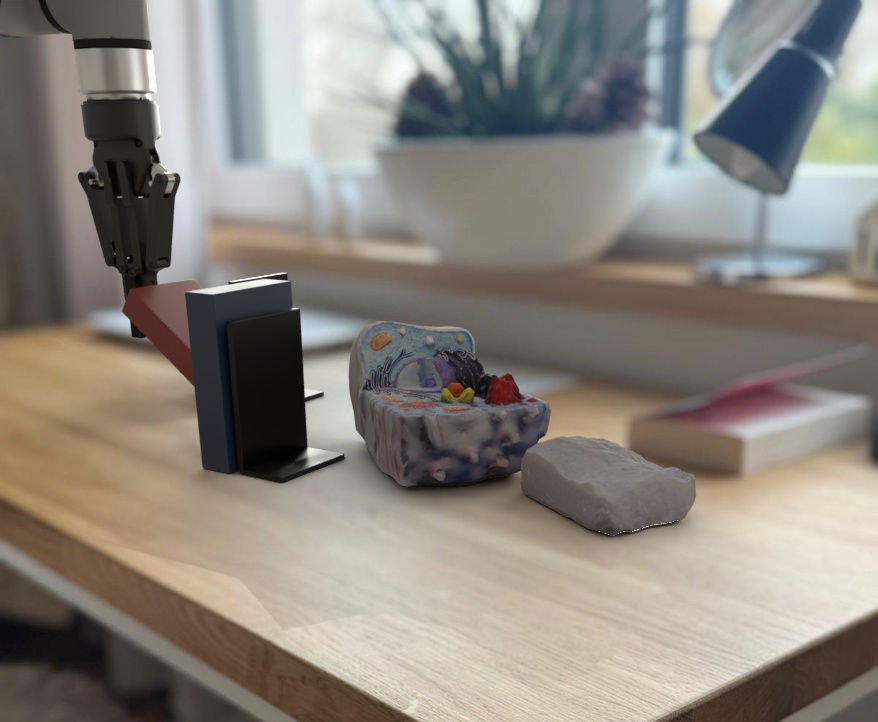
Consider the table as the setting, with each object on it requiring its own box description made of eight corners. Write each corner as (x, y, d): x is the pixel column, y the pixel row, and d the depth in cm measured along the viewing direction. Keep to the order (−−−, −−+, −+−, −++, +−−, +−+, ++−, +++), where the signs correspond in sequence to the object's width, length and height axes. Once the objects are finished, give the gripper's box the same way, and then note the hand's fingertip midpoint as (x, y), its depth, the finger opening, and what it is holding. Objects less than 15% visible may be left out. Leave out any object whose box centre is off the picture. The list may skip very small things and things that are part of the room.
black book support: (238, 473, 87) (225, 321, 82) (302, 450, 93) (294, 307, 88) (281, 483, 84) (271, 327, 79) (345, 458, 90) (339, 312, 86)
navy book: (184, 291, 82) (212, 294, 81) (263, 278, 89) (291, 280, 88) (202, 468, 88) (229, 473, 86) (275, 443, 95) (302, 447, 93)
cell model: (449, 305, 96) (572, 348, 79) (448, 423, 100) (564, 488, 84) (311, 315, 90) (412, 364, 74) (315, 440, 95) (412, 512, 78)
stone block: (610, 495, 86) (505, 489, 81) (625, 437, 85) (518, 427, 80) (707, 548, 77) (594, 544, 72) (725, 483, 75) (612, 475, 70)
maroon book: (121, 311, 112) (129, 288, 110) (184, 300, 119) (193, 278, 117) (208, 402, 109) (218, 379, 107) (268, 385, 116) (279, 364, 114)
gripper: (192, 97, 108) (214, 336, 117) (104, 100, 114) (131, 325, 124) (135, 96, 102) (162, 347, 111) (45, 99, 109) (78, 335, 118)
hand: (146, 335), depth 117 cm, fingers closed
